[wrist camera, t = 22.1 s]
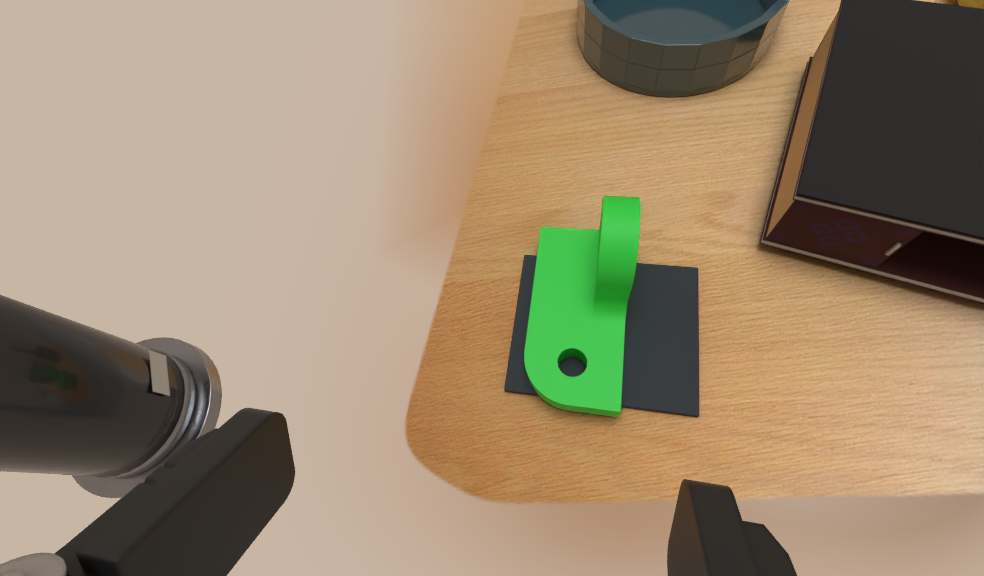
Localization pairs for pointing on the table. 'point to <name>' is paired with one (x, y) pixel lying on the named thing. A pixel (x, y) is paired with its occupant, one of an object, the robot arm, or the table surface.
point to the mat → (636, 340)
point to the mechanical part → (583, 309)
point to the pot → (676, 42)
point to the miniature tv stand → (890, 148)
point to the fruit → (971, 3)
